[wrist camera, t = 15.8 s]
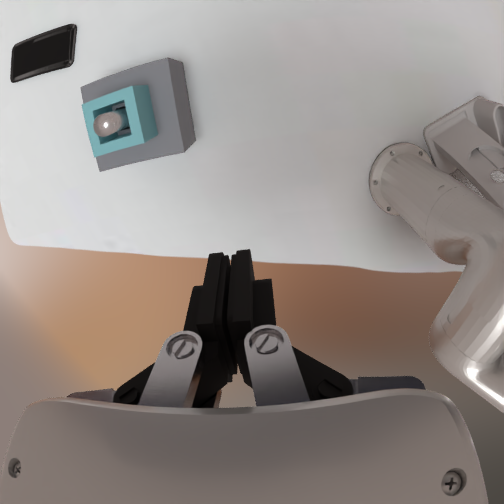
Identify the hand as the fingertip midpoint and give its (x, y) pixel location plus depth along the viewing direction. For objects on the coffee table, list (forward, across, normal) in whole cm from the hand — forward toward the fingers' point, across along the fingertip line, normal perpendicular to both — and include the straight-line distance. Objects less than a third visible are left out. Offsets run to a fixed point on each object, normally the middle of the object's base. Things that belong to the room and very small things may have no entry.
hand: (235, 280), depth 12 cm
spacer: (+24, +13, -7) cm, 28 cm away
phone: (+33, +31, -24) cm, 51 cm away
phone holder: (+32, -38, 0) cm, 50 cm away
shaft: (+32, +13, -7) cm, 35 cm away
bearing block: (+32, +13, -7) cm, 35 cm away
